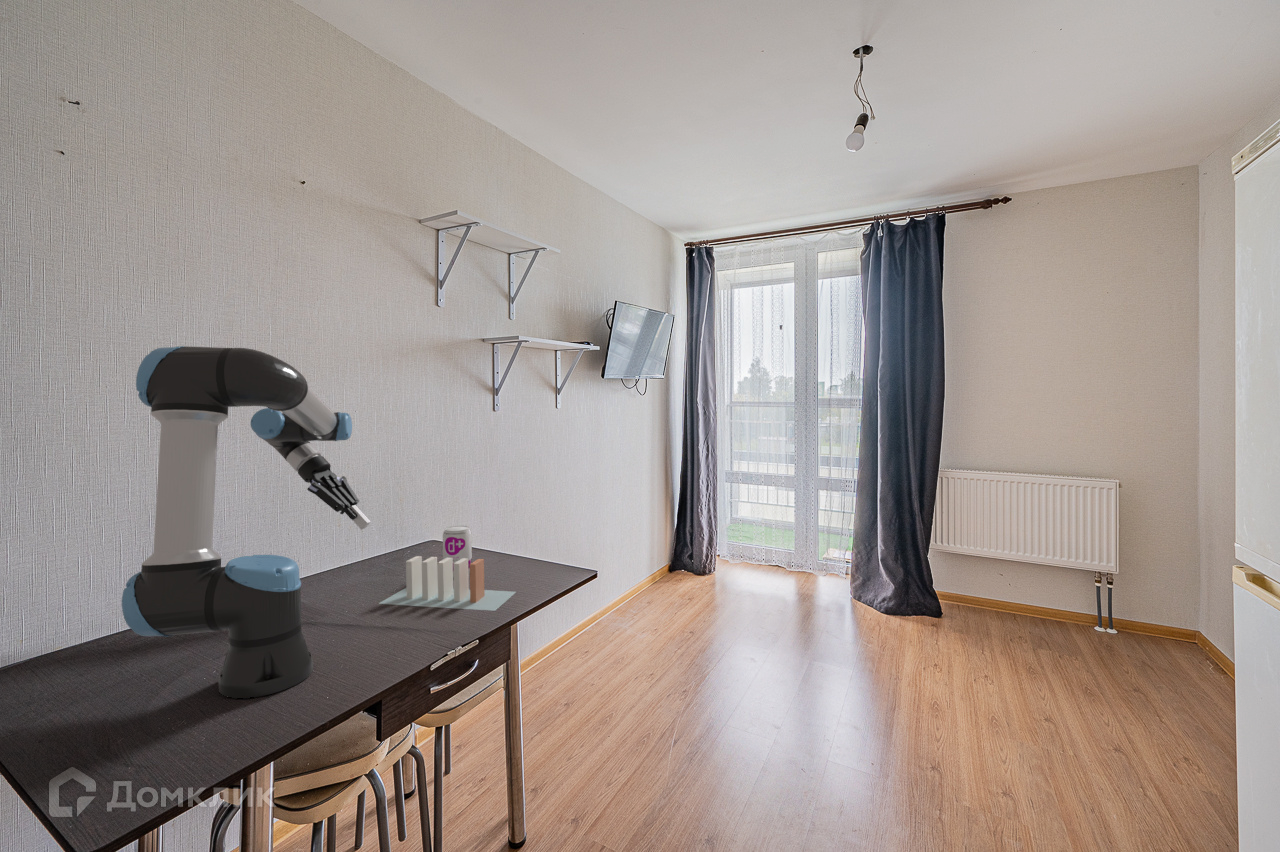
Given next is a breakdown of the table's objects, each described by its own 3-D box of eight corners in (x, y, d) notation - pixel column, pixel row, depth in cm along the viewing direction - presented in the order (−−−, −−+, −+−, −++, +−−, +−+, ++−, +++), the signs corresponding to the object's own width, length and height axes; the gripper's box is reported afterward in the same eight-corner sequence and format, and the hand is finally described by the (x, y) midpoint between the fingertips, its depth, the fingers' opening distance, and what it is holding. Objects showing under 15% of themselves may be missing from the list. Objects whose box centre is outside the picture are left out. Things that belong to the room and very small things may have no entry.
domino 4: (468, 595, 151) (468, 558, 150) (459, 601, 146) (459, 563, 145) (463, 594, 151) (462, 558, 151) (454, 601, 146) (453, 563, 146)
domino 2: (437, 593, 152) (437, 557, 152) (428, 599, 147) (427, 562, 147) (432, 593, 152) (431, 556, 152) (422, 599, 148) (421, 562, 147)
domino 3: (453, 594, 151) (452, 557, 151) (443, 600, 147) (443, 563, 146) (447, 593, 152) (447, 557, 151) (438, 600, 147) (437, 562, 146)
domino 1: (422, 592, 153) (421, 556, 153) (412, 598, 148) (411, 561, 148) (417, 592, 153) (416, 556, 153) (406, 598, 148) (405, 561, 148)
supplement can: (467, 581, 166) (466, 531, 165) (439, 581, 166) (438, 531, 165) (475, 573, 174) (474, 525, 173) (449, 573, 174) (448, 525, 174)
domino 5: (484, 596, 150) (483, 559, 150) (476, 602, 145) (475, 564, 145) (478, 595, 150) (478, 558, 150) (470, 602, 145) (469, 564, 145)
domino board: (495, 615, 139) (494, 610, 139) (378, 608, 145) (378, 603, 145) (516, 596, 153) (516, 591, 153) (409, 590, 159) (409, 585, 159)
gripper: (318, 470, 162) (372, 529, 160) (282, 476, 149) (341, 541, 147) (334, 452, 160) (389, 511, 159) (299, 457, 148) (359, 521, 146)
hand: (366, 525), depth 153 cm, fingers closed
